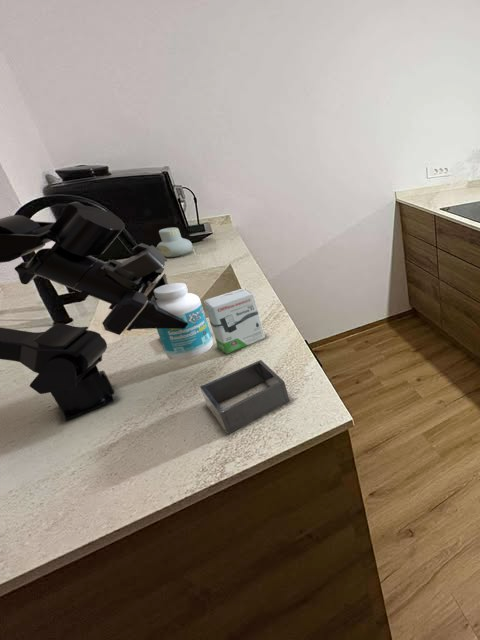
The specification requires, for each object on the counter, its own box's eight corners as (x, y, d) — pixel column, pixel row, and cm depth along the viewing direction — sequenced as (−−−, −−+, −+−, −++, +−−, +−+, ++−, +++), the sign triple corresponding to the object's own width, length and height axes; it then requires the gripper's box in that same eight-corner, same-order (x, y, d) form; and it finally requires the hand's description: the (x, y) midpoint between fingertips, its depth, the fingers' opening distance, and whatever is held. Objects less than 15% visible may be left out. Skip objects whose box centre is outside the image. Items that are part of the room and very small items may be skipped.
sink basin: (227, 434, 61) (219, 413, 60) (207, 406, 68) (199, 386, 66) (289, 401, 68) (284, 381, 67) (266, 378, 75) (260, 359, 73)
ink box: (226, 355, 82) (210, 307, 77) (217, 347, 85) (200, 300, 80) (266, 337, 88) (254, 292, 84) (257, 331, 91) (244, 287, 86)
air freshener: (198, 252, 145) (190, 227, 141) (177, 259, 138) (168, 233, 134) (177, 250, 148) (168, 225, 144) (155, 257, 141) (145, 231, 137)
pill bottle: (177, 366, 68) (152, 300, 63) (160, 353, 72) (135, 290, 67) (221, 347, 74) (202, 285, 69) (203, 336, 78) (183, 276, 72)
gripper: (100, 252, 54) (213, 303, 64) (132, 222, 69) (219, 267, 79) (49, 312, 54) (170, 354, 63) (92, 270, 69) (185, 309, 78)
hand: (189, 317), depth 71 cm, fingers closed on pill bottle, 7 cm apart
